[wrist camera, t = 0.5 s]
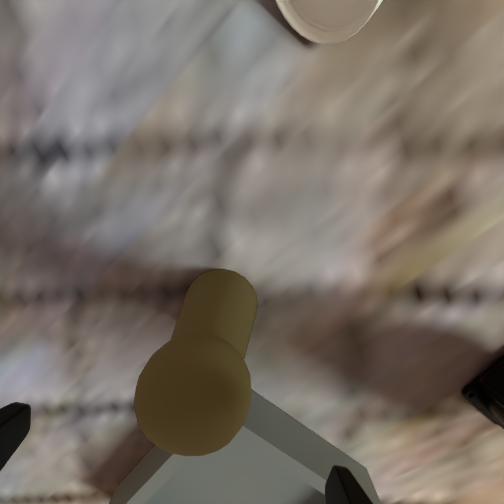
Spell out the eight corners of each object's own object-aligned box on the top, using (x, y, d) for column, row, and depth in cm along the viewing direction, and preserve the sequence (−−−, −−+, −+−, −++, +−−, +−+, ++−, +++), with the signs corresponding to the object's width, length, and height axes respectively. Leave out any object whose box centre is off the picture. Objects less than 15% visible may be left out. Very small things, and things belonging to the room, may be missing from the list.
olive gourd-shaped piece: (264, 328, 21) (275, 470, 10) (196, 342, 21) (138, 493, 10) (248, 261, 19) (241, 345, 9) (176, 277, 20) (84, 376, 9)
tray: (366, 468, 24) (387, 520, 20) (252, 562, 28) (252, 622, 24) (223, 369, 22) (216, 408, 18) (117, 486, 25) (92, 539, 21)
